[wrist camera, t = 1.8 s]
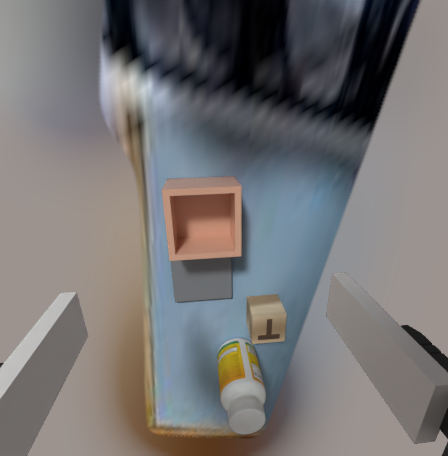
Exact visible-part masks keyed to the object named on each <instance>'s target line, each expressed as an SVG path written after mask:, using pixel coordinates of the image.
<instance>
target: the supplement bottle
mask: <svg viewBox="0 0 448 456" xmlns="http://www.w3.org/2000/svg"><path fill="white" fill-rule="evenodd" d="M217 361H218V373H219V385H220V398H221V403H222V406H223V407H224V409H225V410H226V411H227V412H228V421H229V426H230V428H231V430H232V431H234V432H235V433H238V434H251V433H254V432H256V431H258V430H259V429H261V428H262V427H263V425H264V424H265V420H266V418H265V413H264V407H263V404H264V402H265V399H266V391H265V387H264V383H263V379H262V375H261V371H260V367H259V363H258V359H257V355H256V351H255V348H254V346H253V344H252V343H251V342H249V341H248V340H246V339H242V338H234V339H231V340H228V341H226V342H225V343H223V344H222V345H221V346H220V348H219V350H218V353H217Z"/></svg>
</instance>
